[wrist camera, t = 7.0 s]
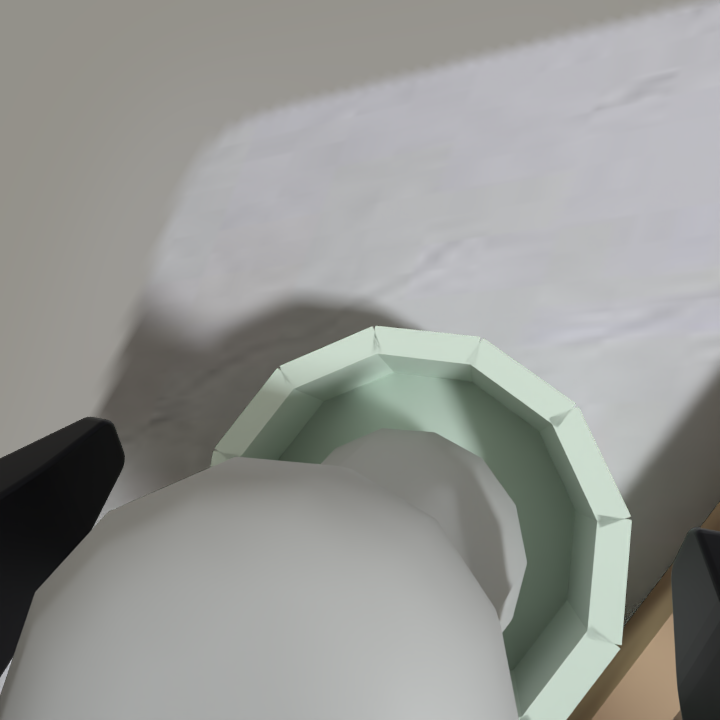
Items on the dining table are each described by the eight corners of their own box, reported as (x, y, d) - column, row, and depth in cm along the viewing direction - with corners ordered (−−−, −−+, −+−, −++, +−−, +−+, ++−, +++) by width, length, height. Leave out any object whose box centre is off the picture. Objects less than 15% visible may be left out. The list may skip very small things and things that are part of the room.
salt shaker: (304, 629, 17) (-252, 1166, 4) (321, 427, 17) (-89, 344, 5) (516, 659, 15) (683, 1572, 3) (523, 440, 16) (671, 375, 4)
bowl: (446, 790, 16) (437, 888, 12) (194, 543, 18) (124, 562, 15) (669, 499, 16) (726, 509, 12) (388, 296, 19) (365, 254, 15)
